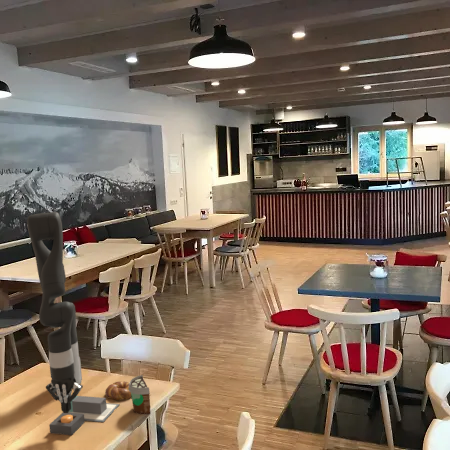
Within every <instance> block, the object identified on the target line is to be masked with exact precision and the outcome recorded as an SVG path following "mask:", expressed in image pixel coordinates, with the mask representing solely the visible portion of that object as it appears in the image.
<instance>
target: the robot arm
mask: <svg viewBox="0 0 450 450" xmlns="http://www.w3.org/2000/svg"><path fill="white" fill-rule="evenodd" d="M26 224H27V225H26V226H27V230H28V231H27V232H28V234H29V235H28V236H29V239H30V242H31V245H32V249H33V252H34V256H35V261H36V262H35V263H36V269H37V270H36V271H37V274H38V278H39V279H38V280H39V283H40V284H39V285H40V288H41V291H42V297H41V305H40V309H39V312H38V313H39V315H38V319H39V322H40V324H41V325H43V327H50V328H52V329H55V328H57V329H56V330H53V331H51V332H49V333H48V334H47V347H48V362H49V363H48V364H49V371H50V378H51V380H50V382H49V383H47V384H46V386H45V390H47V392H48V393H49V394H50V395H51V397H52V398H53V399H54V401H59V402H60V409H61V411H62V413H68V412H69V411H70V410H71V401H72V400H74V399H75V398H76V396H79V393H80V392H81V391H82V389H83V386H84V385H83V384H82V380H83V375H82V364H81V357H80V354H79V353H80V352H79V343H78V333H77V317H76V316H77V313H76V305H75V304H74V303H73V302H70V301H59V302H55V300H56V299H57V298H60V297H62V296H64V295H65V293H66V285H65V284H66V280H67V278H66V277H67V276H66V270H65V265H64V261H63V260H64V257H63V256H64V240H63V239H64V234H63V233H64V231H63V221H62V218H61V216H60V213H59V212H57V211H53V212H52V211H51V212H42V213H35V214H30V215H29V216H28V217H27V220H26ZM45 240H53V244H52V248H51V250H50V249H48V247H47V246H46V245H45V244H44V242H43V241H45Z"/></svg>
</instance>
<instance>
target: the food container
mask: <svg viewBox="0 0 450 450" xmlns="http://www.w3.org/2000/svg"><path fill="white" fill-rule="evenodd" d="M128 383H129V388H128V389H129V391H130V392H131V396H132V397H131V401H132V410H133V412H134V413H135V414H138V415H151V400H150V399H151V398H150V393H151V392H150V391H151V390H150V387H148V385H147V383H146V381H145V379H144V375H143V374H140V375H137V376H135V377H133V378H132V379H130V381H129V382H128Z"/></svg>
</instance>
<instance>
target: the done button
mask: <svg viewBox="0 0 450 450" xmlns="http://www.w3.org/2000/svg"><path fill="white" fill-rule="evenodd" d="M72 420H73V416H72V415H65V416H63V417H61V423H70V422H71V421H72Z"/></svg>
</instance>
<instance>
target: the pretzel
mask: <svg viewBox="0 0 450 450" xmlns="http://www.w3.org/2000/svg"><path fill="white" fill-rule="evenodd" d="M129 383H130V382H128V381H115V382H113V383H112V384H109V385H108V386H107V387H106V389H105V396H106V397H107V398H108V399H112V400H115V401H121V400H125V401H126V400H129V399H132V396H131V392H130V391H129V389H128V388H129Z"/></svg>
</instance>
